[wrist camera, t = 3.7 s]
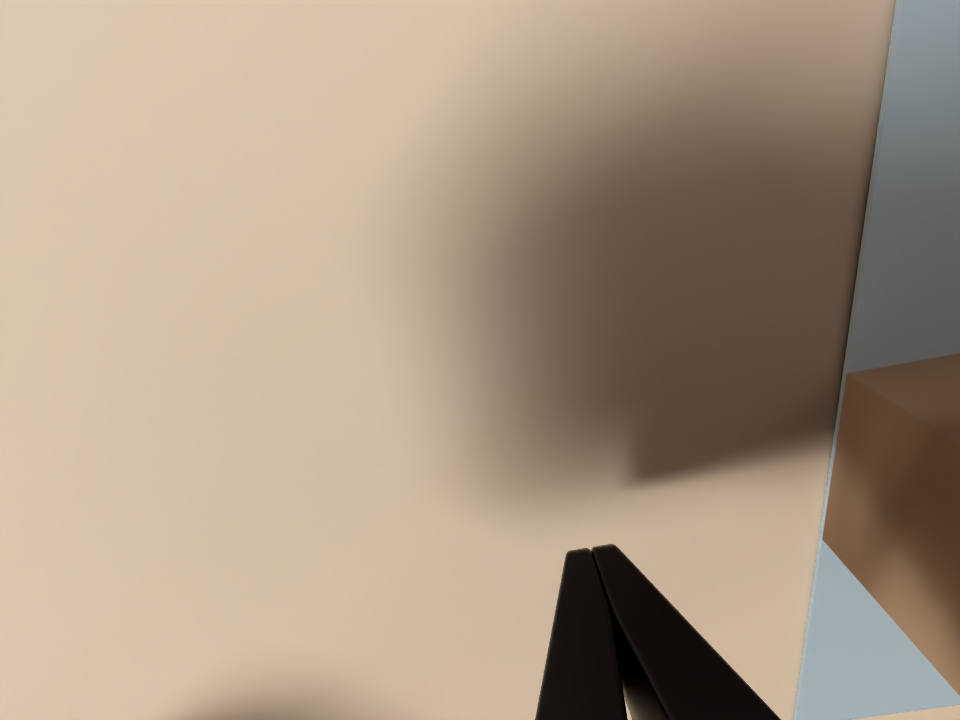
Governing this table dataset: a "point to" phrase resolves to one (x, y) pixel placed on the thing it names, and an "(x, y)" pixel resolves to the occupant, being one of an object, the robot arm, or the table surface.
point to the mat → (894, 350)
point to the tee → (903, 499)
